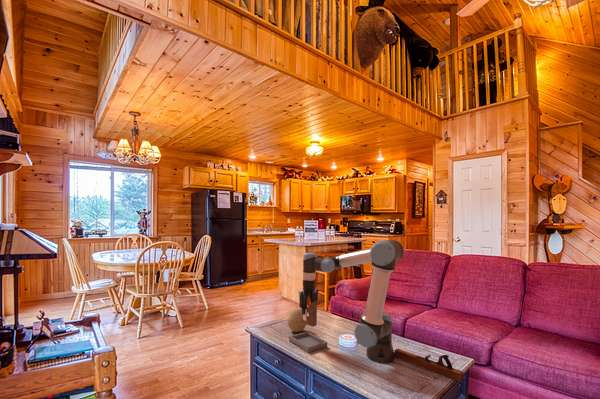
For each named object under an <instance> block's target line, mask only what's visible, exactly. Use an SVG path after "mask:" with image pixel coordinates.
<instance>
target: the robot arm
mask: <svg viewBox="0 0 600 399" xmlns="http://www.w3.org/2000/svg"><path fill="white" fill-rule="evenodd" d="M404 255H405V249H404V246H403V244H402V243H401V242H399V240H397V239H396V240H395V239H387V240H385V239H383V240H379V241H378V242H375V243H374V244H372V246H371V248H365V249H362V250H357V251H353V252H349V253H344V254H339V255H334V256H328V257H317V254H316V253H315V252H304V253H303V258H302V265H303V266H302V289H301V290H299V291H298V296H299V298H298V299H299V306H298V308H300V309H301V308H302V314H303V320H305V321H307V316H308V313H307V309H306V305H307V306H308V299H309V302H310V305H311V304H312V302H315V301H317V302H318V299H319V298H318V297H319V296H318V295H319V292H320V290H319V289H318V288H316V280H315V279H316V277H317V276H316V275H317V274H316V272H317V271H319V272H324V273H332V272H333V271H334V270H337V269H343V268H346V267H347V268H348V267H352V266H353V267H354V266H359V265H363V264H369V263H371V264H370V265H371V267H372V268H373V270H372V274H371V280H370V286H369V289H368V295H367V298H366V304H365V310H364V312H363V313H362V314H360V318H359V324H357V325H356V327H355V328H354V334H353V335H354V337H355V339H356V341H357V343H358V344H359V345H360V346H362V347H364V348H366V351H365V352H366V357H367V358H368V359H369V360H370V361H372V362H377V363H382V364H385V363H386V364H388V363H392V362H394V361H395V360H396V358H395V349H394V346H393V339H392V338H393V336H392V335H393V316H391V314H388V313H386V312H384V307H385V302H386V298H387V293H388V287H389V283H390V278H391V275H392V274H391V273H393V272H394V271H395V270H396V264H397V262H399V261H401V260H402V259H403V257H404ZM303 292H304V293H303ZM303 294H304V299H303ZM306 295H307V296H306Z"/></svg>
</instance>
